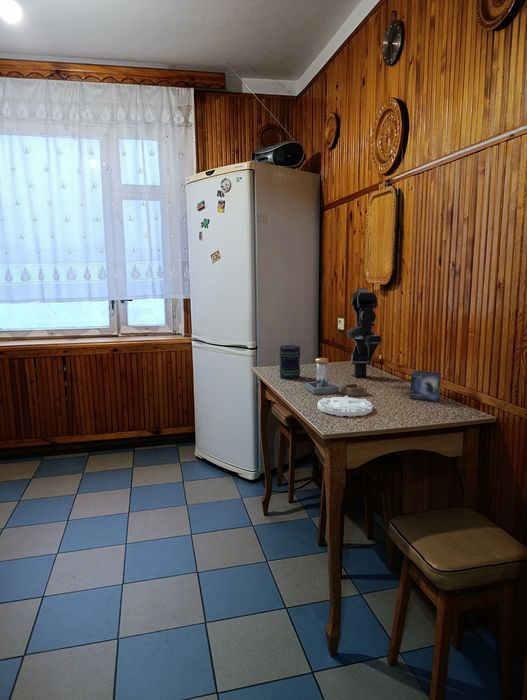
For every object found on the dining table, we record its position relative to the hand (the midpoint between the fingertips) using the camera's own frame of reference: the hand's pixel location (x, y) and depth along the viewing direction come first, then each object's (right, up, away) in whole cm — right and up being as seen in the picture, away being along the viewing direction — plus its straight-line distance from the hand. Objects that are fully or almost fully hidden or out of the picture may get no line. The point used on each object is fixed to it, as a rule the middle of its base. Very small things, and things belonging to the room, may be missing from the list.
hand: (364, 356), depth 206 cm
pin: (-20, -14, -7) cm, 25 cm away
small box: (+19, -17, -22) cm, 33 cm away
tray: (-20, -15, -7) cm, 26 cm away
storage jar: (-32, -11, +18) cm, 38 cm away
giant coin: (-15, -20, -34) cm, 42 cm away
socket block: (-7, -15, -12) cm, 21 cm away
